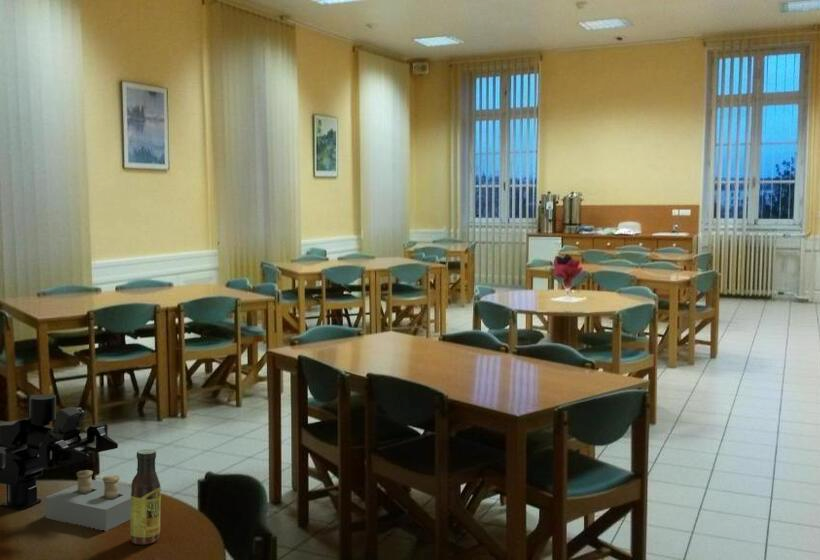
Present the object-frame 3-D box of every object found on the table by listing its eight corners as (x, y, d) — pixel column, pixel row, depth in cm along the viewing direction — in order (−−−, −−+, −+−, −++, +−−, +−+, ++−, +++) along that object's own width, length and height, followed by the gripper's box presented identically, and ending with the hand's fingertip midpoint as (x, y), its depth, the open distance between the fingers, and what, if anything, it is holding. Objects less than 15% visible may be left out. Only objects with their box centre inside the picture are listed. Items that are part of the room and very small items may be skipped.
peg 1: (73, 496, 186) (73, 473, 186) (84, 491, 190) (84, 469, 189) (85, 498, 185) (84, 475, 184) (96, 493, 188) (96, 471, 188)
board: (45, 517, 183) (45, 497, 182) (90, 498, 196) (90, 479, 195) (106, 531, 176) (106, 509, 176) (148, 510, 189) (148, 490, 189)
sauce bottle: (150, 547, 168) (150, 457, 167) (124, 544, 170) (124, 454, 168) (166, 535, 175) (166, 448, 173) (140, 532, 176) (140, 446, 174)
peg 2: (99, 501, 183) (99, 478, 183) (110, 496, 187) (110, 474, 186) (111, 504, 182) (111, 481, 182) (122, 499, 185) (122, 476, 185)
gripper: (19, 416, 177) (72, 426, 171) (81, 398, 194) (132, 408, 188) (18, 463, 178) (71, 476, 172) (81, 442, 195) (131, 453, 189)
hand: (103, 451), depth 180 cm, fingers open, 9 cm apart
